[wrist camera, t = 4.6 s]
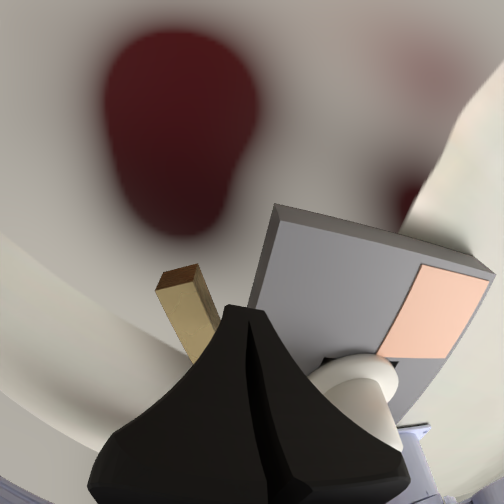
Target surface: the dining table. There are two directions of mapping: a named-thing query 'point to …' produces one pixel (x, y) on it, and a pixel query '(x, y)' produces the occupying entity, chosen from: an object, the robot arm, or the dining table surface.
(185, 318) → the bar
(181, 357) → the dining table surface
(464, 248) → the dining table surface
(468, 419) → the dining table surface
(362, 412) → the plug
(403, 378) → the socket block
